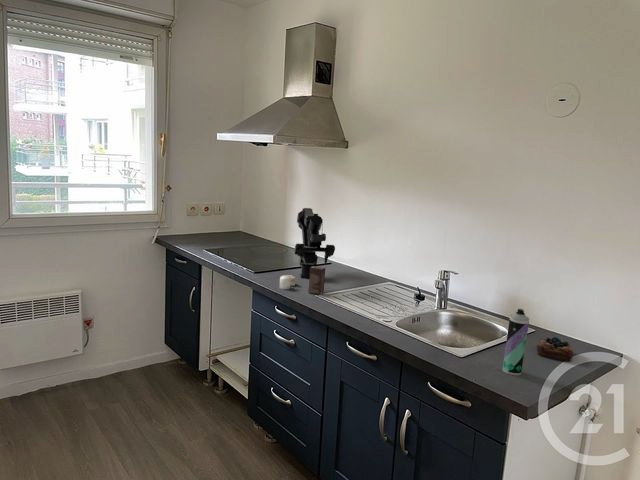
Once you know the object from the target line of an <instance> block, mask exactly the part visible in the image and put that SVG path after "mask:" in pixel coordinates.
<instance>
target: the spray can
mask: <svg viewBox="0 0 640 480" xmlns="http://www.w3.org/2000/svg"><path fill="white" fill-rule="evenodd" d="M509 316H510V317H509V320H508V321H509V322H508V326H507V327H508V328H507V334H506V343H505V349H504V356H503V357H504V358H503V362H502V372H504V373H505V374H507V375H510V376H521V375H522V373H523V372H522V371H523V365H524V359H525V353H526V345H527V338H528V331H529V326H530V317H528V316H527V315H526V313H525V310H524V309H523V308H518V309H517V311H516V312H515V313H513V314H510V315H509Z"/></svg>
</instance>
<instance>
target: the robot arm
mask: <svg viewBox="0 0 640 480" xmlns="http://www.w3.org/2000/svg"><path fill="white" fill-rule="evenodd" d="M296 223H297V224H298V225H297V226H298V228H299V229H300V230H301V235H302V237H301V238H302V243H296V244H295V246H294V255H297V257H299V258H298V265H299V266H301V270H300V273H299V276H300V278H302V279H310V267H313V266H316V267H317V265H318V263H317V262H318V259H319V258H318V255H317V253H316V252H319V253H320V252H322V253H324V258H323V259H324V265H325V266H327V263H328V259H329V258H331V257H333V256H334V254H335V251H336V246H335V244H325V247H322V244H323V243H322V242H325V241H326V240H327V235H326V233H321V234H320V230H321V228H322V225H323V218H322V217H321V216H320V215H319V213H314V211H313V208H311V207H304V208H302V210H301V211H299V212H298V213H297V217H296Z"/></svg>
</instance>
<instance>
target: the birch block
mask: <svg viewBox="0 0 640 480" xmlns="http://www.w3.org/2000/svg"><path fill="white" fill-rule="evenodd" d="M281 276H288V277H291V283H290V287H292V286H295V285H296V277H295V276H294V275H292V274H284V275H281Z"/></svg>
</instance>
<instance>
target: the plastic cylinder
mask: <svg viewBox="0 0 640 480" xmlns="http://www.w3.org/2000/svg"><path fill="white" fill-rule="evenodd" d="M290 283H291V277H288V276H282V275H280V276H279V289H280V290H290V289H291V286H290Z"/></svg>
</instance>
